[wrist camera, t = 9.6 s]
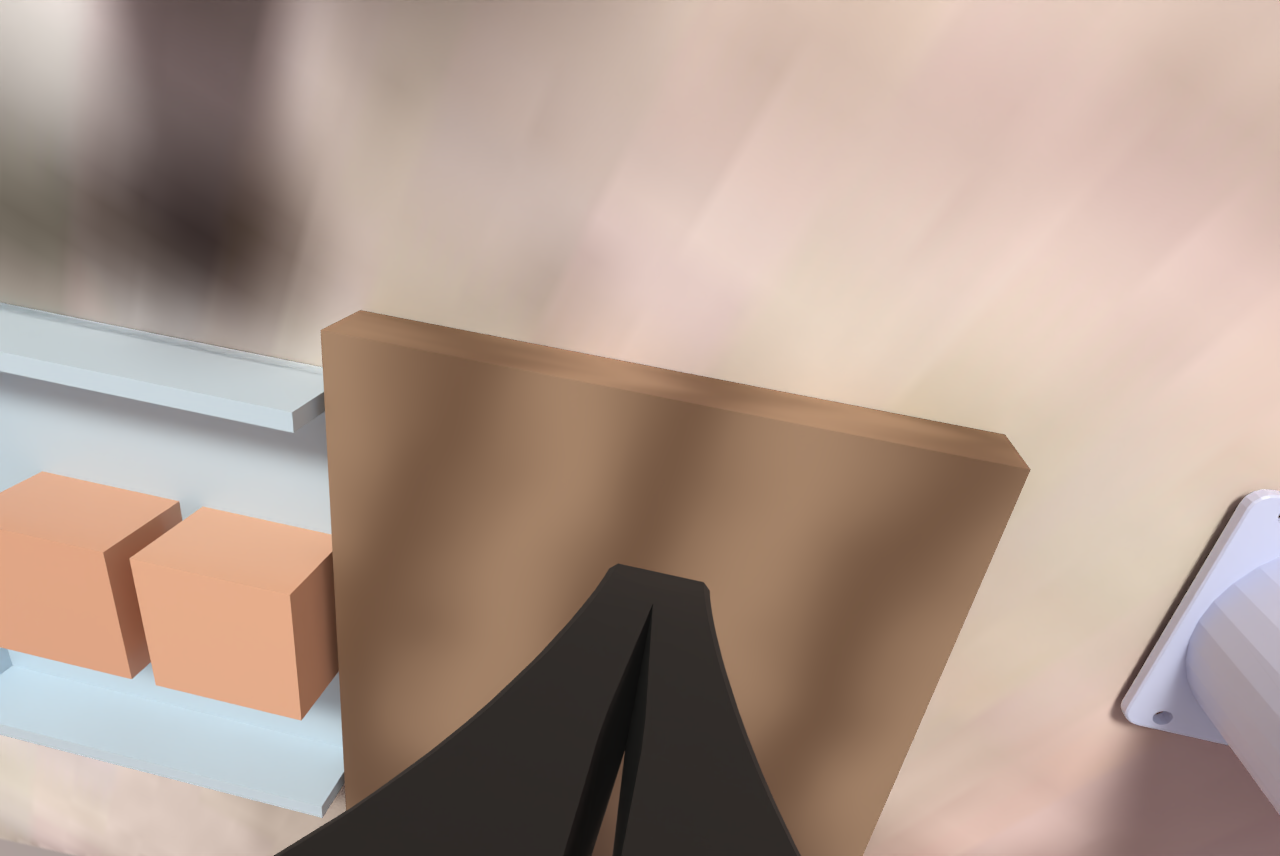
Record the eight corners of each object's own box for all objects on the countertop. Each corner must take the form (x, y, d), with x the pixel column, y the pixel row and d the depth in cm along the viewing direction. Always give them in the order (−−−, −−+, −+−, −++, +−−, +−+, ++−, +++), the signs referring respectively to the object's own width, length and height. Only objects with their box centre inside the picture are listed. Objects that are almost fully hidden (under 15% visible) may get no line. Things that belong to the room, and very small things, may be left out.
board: (1005, 434, 19) (1030, 469, 17) (816, 897, 27) (820, 953, 26) (360, 310, 20) (320, 330, 18) (373, 785, 29) (347, 830, 27)
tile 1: (179, 501, 23) (102, 552, 21) (198, 619, 26) (131, 679, 23) (42, 471, 24) (-50, 517, 21) (72, 589, 26) (-8, 645, 23)
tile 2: (345, 537, 23) (289, 594, 20) (351, 654, 25) (301, 720, 22) (202, 506, 23) (129, 558, 21) (220, 624, 26) (155, 685, 23)
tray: (352, 373, 21) (291, 412, 18) (365, 749, 28) (322, 817, 25) (-102, 281, 22) (-221, 305, 20) (16, 662, 29) (-60, 719, 27)
